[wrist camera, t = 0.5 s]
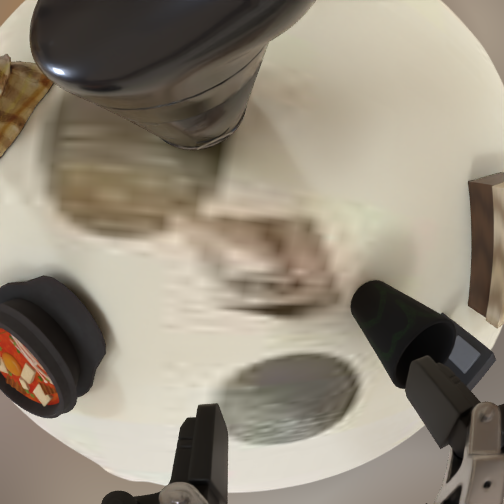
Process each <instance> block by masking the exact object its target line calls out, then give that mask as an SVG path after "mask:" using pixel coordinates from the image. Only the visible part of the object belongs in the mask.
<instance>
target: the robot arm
mask: <svg viewBox="0 0 504 504" xmlns="http://www.w3.org/2000/svg"><path fill="white" fill-rule="evenodd" d="M315 1H316V0H38V1H37V4H36V7H35V9H34V12H33V16H32V20H31V24H30V40H29V41H30V48H31V53H32V56H33V59H34V61H35V63H36V64H37V66H38V68H39V69H40V71H41V72H42V73H43V74H44V75H45V76H46V77H47V78H48V79H49V80H50V81H51V82H53V83H54V84H55V85H57V86H59V87H60V88H62V89H64V90H65V91H67V92H69V93H72V94H74V95H76V96H78V97H80V98H82V99H84V100H86V101H89V102H91V103H94V104H96V105H98V106H100V107H102V108H104V109H106V110H108V111H110V112H112V113H114V114H116V115H118V116H120V117H122V118H124V119H126V120H128V121H130V122H132V123H134V124H136V125H138V126H139V127H141V128H143V129H145V130H147V131H149V132H151V133H152V134H154V135H156V136H158V137H160V138H161V139H162V140H164V141H165V142H167V143H168V144H170V145H172V146H175V147H177V148H181V149H186V150H201V149H206V148H210V147H213V146H215V145H217V144H219V143H221V142H223V141H224V140H226V139H227V138H228V137H230V136H231V135H232V134H233V133H234V132H235V130H236V129H237V128H238V126H239V125H240V123H241V121H242V119H243V117H244V114H245V110H246V106H247V102H248V99H249V96H250V94H251V91H252V88H253V85H254V82H255V80H256V77H257V74H258V71H259V69H260V66H261V63H262V60H263V57H264V54H265V52H266V49H267V47H268V44H269V42H270V41H271V40H273V39H275V38H276V37H278V36H279V35H281V34H282V33H284V32H285V31H287V30H288V29H290V28H291V27H292V26H293V25H294V24H296V23H297V22H298V21H299V20H300V19H301V18H302V17H303V16H304V15H305V14H306V12H307V11H308V10H309V9H310V7H311V6H312V5H313V4H314V3H315ZM405 392H406V396H407V398H408V400H409V401H410V403H411V404H412V406H413V407H414V409H415V410H416V412H417V413H418V415H419V416H420V418H421V419H422V421H423V422H424V424H425V425H426V427H427V429H428V430H429V431H430V433H431V434H432V436H433V438H434V439H435V441H436V443H437V444H438V445H439V447H440V449H441V448H443V447H445V446H447V445H448V444H449V445H450V446H451V449H450V452H449V457H448V462H447V467H446V472H445V476H444V480H443V484H442V487H441V489H440V491H439V493H438V495H437V497H436V499H435V501H434V504H502V503H503V497H504V404H502V405H499V406H497V405H495V404H494V403H491V402H480V401H479V400H478V399H477V398H476V397H475V395H474V394H473V393H472V392H471V391H470V390H469V389H468V388H467V386H466V385H465V384H464V383H463V382H461V381H460V379H459V378H458V377H457V376H455V373H454V372H453V371H452V370H451V369H450V368H449V367H447V366H445V365H443V364H441V363H437V364H436V363H435V361H434V360H433V359H432V358H431V357H430V356H424V357H421V358H419V359H416V360H414V361H412V362H411V364H410V368H409V373H408V377H407V382H406V386H405ZM178 438H179V440H178V442H177V448H176V453H175V459H174V464H173V470H172V476H171V480H170V482H169V484H168V485H167V486H165V487H164V488H163V489H162V490H161V491H160V492H158V493H155V494H150V495H144V496H136V497H133V496H132V495H130V494H129V493H127V492H124V491H113V492H110V493H109V494H107V495H106V496H105V497H104V498H103V500H102V503H101V504H227V493H228V431H227V427H226V424H225V421H224V418H223V416H222V413H221V410H220V407H219V405H218V404H217V403H216V404H202V405H198V408H197V415H196V417H193V418H187V419H186V420H185V422H184V423H183V424H182V426H181V427H180V432H179V437H178Z"/></svg>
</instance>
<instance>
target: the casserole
mask: <svg viewBox="0 0 504 504" xmlns="http://www.w3.org/2000/svg"><path fill="white" fill-rule="evenodd" d="M105 354H106V344H105V341H104V338H103V335H102V332H101V331H100V329H99V327H98V325H97V323H96V321H95V320H94V318H93V317H92V315H91V314H90V312H89V311H88V310H87V308H86V307H85V305H84V304H83V303H82V302H81V301H80V300H79V299H78V298H77V297H76V295H75V294H74V293H73V292H71V291H70V290H69V289H68V288H67V287H66V286H65V285H64V284H62V283H61V282H59V281H57V280H56V279H54V278H52V277H48V276H41V277H38V278H35V279H33V280H30V281H27V282H15V283H7V284H5V285H3V286H1V288H0V389H1V390H2V392H3V393H4V394H5V395H6V396H7V397H9V398H10V399H11V400H12V401H13V402H14V403H16V404H17V405H18V406H20V407H21V408H23V409H24V410H26V411H28V412H30V413H32V414H34V415H37V416H40V417H43V418H55V417H58V416H59V415H61V414H63V413H67V412H69V411H71V410H72V409H73V408H74V406H75V405H76V402H77V397H80V396H83V395H84V394H86V393H87V392H88V391H89V390H90V388H91V387H92V385H93V380H94V376H95V372H96V369H97V367H98V365H99V364H100V362H101V360H102V359H103V357H104V355H105Z"/></svg>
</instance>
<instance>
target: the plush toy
mask: <svg viewBox="0 0 504 504" xmlns="http://www.w3.org/2000/svg"><path fill="white" fill-rule="evenodd" d="M52 84H53V82H51V81H50V80H49V79H48V78H47V77H46V76H45V75H44V74H43V73H42V72H41V71H40V69H39V68H38V66H37V64H36V63H30V62H21V61H18V62H11V58H10V57H9V56H8V54H5V55H4V56H0V157H1V156H2V154H3V153H4V152H5V150H6V149H7V148H8V147H9V146H10V145H11V143H12V142H13V141H14V140H15V138H16V137H17V136H18V135H19V133H20V131H21V130H22V128H23V127H24V125H25V123H26V121H27V120H28V118H29V116H30V115H31V113H32V112H33V110H34V108H35V106H36V105H37V104H38V103H39V101H40V100H41V99H42V98H43V97H44V95H45V94H46V93H47V92H48V90H49V89H50V87H51V85H52Z"/></svg>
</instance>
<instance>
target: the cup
mask: <svg viewBox="0 0 504 504" xmlns="http://www.w3.org/2000/svg"><path fill="white" fill-rule="evenodd" d="M351 312H352V315H353V317H354V318H355V320H356V321H357V323H358V325H359V326H360V328H361V329H362V331H363V333H364V334H365V336H366V338H367V339H368V341H369V343H370V344H371V346H372V347H373V349H374V351H375V352H376V354H377V356H378V358H379V359H380V361H381V363H382V364H383V366H384V368H385V369H386V371H387V373H388V375H389V376H390V378H391V380H392V382H393V383H394V384H395V386H396V387H399V388H401V389H405V386H406V382H407V377H408V373H409V368H410V364H411V362H412V361H414V360H416V359H419V358H421V357H424V356H430V357H431V358H432V359H433V360H434V361H435V363H436V364H437V363H441V364H443V365H444V364H445V363H446V361H447V360H448V358H449V356H450V354H451V353H452V350H453V348H454V345H455V340H456V328H455V325H454V323H453V322H452V321H451V320H449V319H448V318H446V317H444V316H443V315H441V314H439V313H437V312H436V311H434V310H432V309H430V308H429V307H427V306H425V305H423V304H422V303H420V302H418V301H416V300H414V299H413V298H411V297H409V296H407V295H406V294H404V293H402V292H400V291H398V290H396V289H395V288H393V287H391V286H389V285H387V284H386V283H384V282H381V281H378V280H374V281H369V282H367V283H365V284H364V285H362V286H361V287H360V288H359V289H358V290H357V291H356V293H355V294H354V296H353V298H352V301H351Z"/></svg>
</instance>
